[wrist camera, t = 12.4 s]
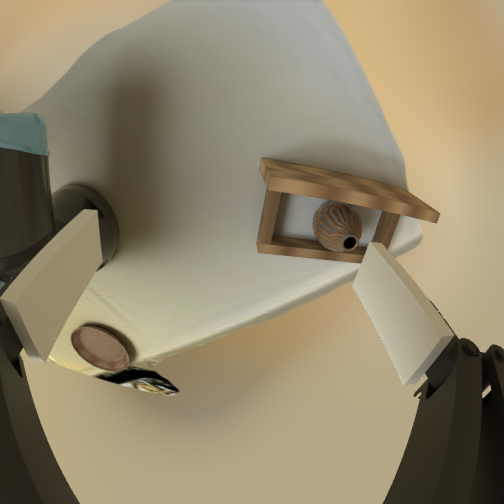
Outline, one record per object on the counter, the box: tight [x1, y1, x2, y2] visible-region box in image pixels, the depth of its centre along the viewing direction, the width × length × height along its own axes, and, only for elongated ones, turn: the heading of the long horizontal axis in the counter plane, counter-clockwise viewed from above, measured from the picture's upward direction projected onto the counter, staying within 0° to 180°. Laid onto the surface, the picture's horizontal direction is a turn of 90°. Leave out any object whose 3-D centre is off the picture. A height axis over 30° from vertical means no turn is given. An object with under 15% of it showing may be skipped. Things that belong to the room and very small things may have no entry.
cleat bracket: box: [257, 158, 440, 263], centre depth 37 cm, size 24×13×10 cm, turn 81°
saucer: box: [71, 326, 129, 371], centre depth 52 cm, size 15×15×3 cm
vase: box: [313, 201, 362, 252], centre depth 37 cm, size 7×7×9 cm
